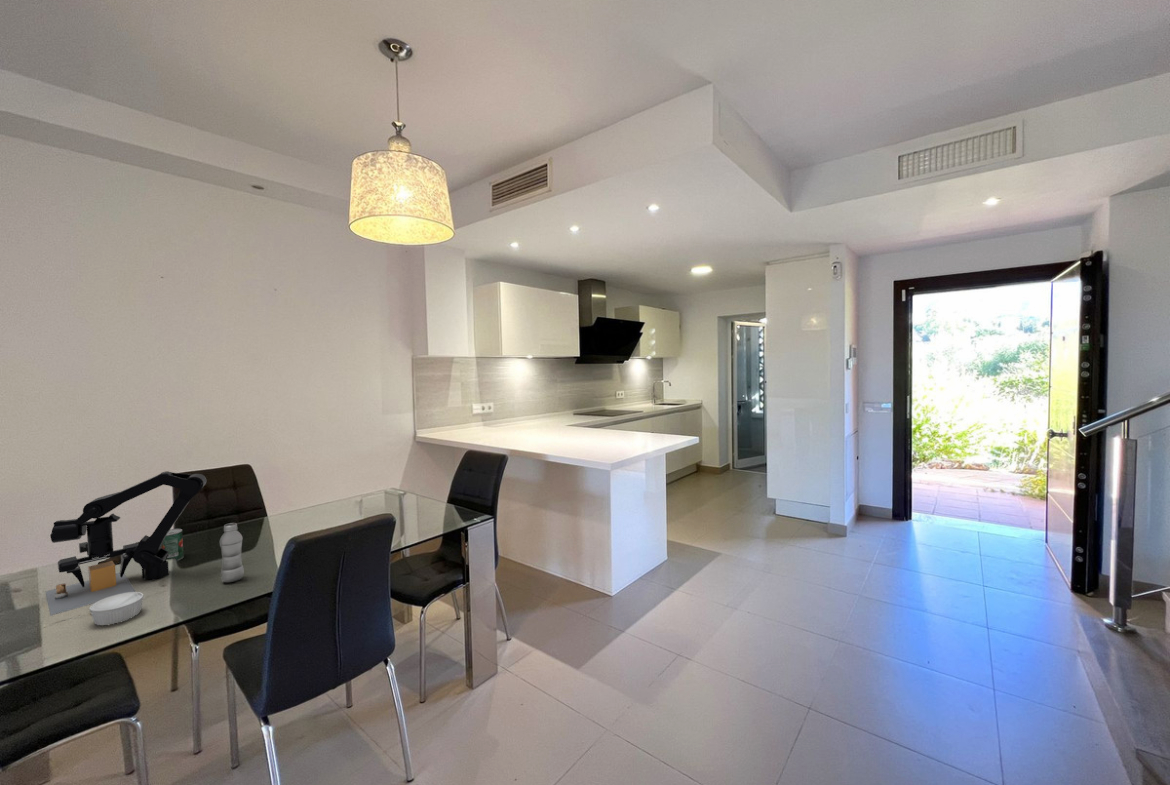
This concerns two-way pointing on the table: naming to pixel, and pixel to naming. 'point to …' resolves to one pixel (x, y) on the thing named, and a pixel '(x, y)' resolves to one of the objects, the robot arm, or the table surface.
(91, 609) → the ramekin
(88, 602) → the flat grey board
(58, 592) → the copper silver stepped knob
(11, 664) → the table surface
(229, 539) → the plastic bottle
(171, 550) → the canned tomato
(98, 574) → the orange cardboard-tone cube
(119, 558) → the hand tool
